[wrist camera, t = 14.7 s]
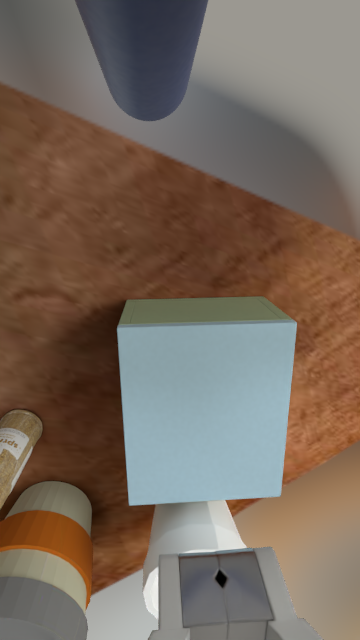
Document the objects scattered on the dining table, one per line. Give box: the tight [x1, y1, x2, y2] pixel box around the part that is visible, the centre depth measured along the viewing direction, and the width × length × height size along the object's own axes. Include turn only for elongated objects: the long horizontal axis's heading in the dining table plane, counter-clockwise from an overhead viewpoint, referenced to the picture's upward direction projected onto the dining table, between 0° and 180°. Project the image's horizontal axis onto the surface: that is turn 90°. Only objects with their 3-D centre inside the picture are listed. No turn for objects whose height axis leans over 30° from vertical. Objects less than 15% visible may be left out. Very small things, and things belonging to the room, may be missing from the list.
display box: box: [118, 296, 292, 325], centre depth 33 cm, size 16×14×8 cm
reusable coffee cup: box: [0, 481, 93, 640], centre depth 34 cm, size 12×13×15 cm
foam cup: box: [143, 500, 247, 619], centre depth 35 cm, size 10×9×13 cm
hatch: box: [117, 320, 297, 506], centre depth 29 cm, size 17×14×1 cm
